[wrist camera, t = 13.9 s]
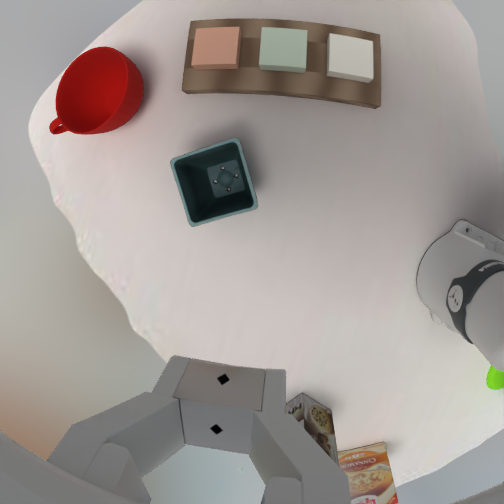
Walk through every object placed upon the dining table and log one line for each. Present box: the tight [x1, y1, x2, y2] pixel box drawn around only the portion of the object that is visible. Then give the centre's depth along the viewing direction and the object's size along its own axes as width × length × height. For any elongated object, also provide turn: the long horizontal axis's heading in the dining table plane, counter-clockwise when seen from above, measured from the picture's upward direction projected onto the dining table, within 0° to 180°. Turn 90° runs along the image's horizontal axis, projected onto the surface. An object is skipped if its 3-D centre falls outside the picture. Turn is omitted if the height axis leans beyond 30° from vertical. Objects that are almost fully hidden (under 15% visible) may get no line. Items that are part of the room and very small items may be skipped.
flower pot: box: [170, 138, 258, 227], centre depth 38 cm, size 9×9×9 cm
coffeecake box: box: [338, 442, 398, 504], centre depth 49 cm, size 15×7×20 cm, turn 104°
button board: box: [182, 19, 381, 109], centre depth 35 cm, size 28×12×2 cm, turn 86°
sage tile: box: [259, 27, 307, 73], centre depth 34 cm, size 6×6×5 cm
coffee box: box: [285, 393, 339, 466], centre depth 46 cm, size 9×6×16 cm
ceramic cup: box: [49, 47, 144, 134], centre depth 36 cm, size 13×17×10 cm
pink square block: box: [191, 27, 242, 70], centre depth 34 cm, size 6×6×5 cm
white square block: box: [327, 33, 373, 83], centre depth 33 cm, size 6×6×5 cm
